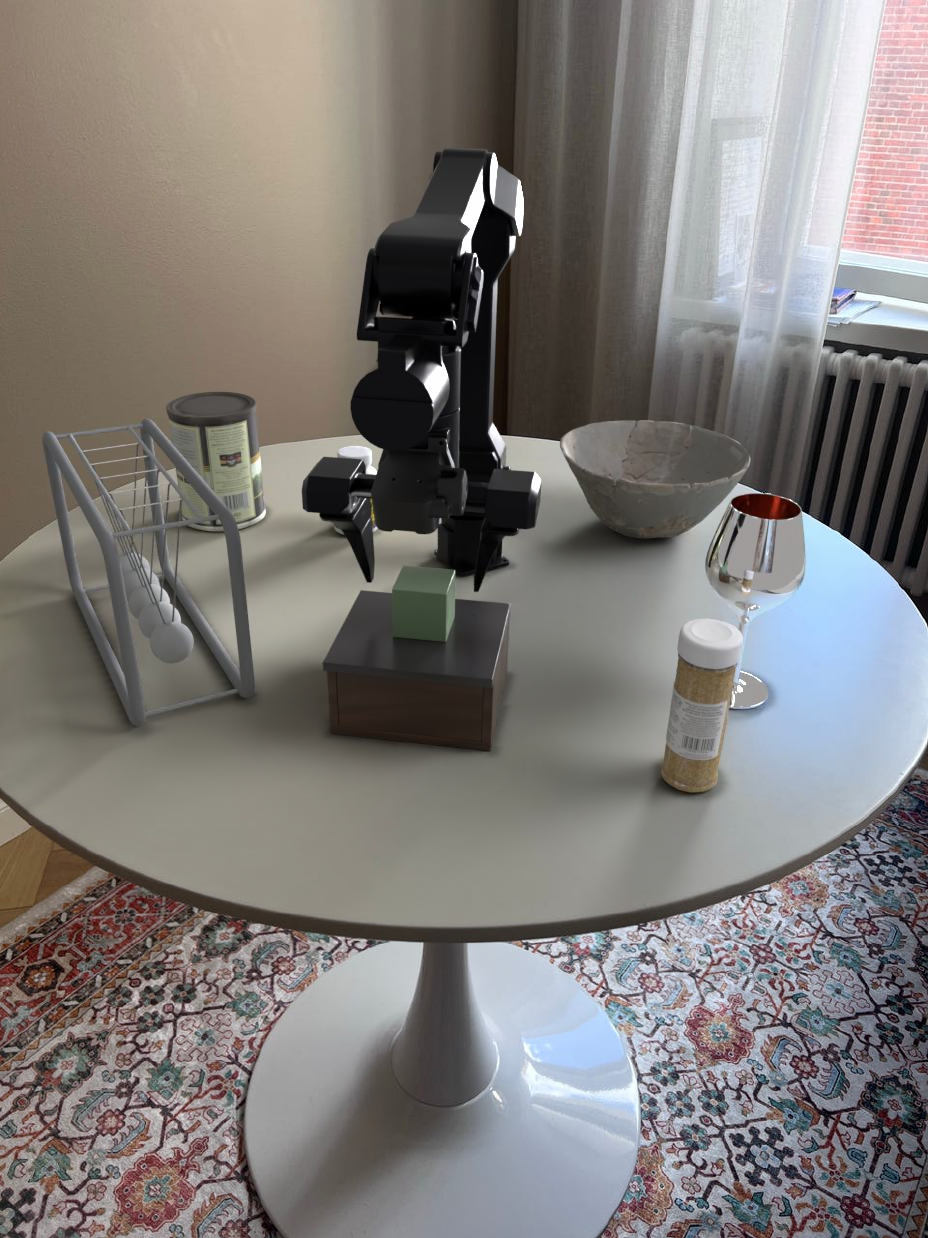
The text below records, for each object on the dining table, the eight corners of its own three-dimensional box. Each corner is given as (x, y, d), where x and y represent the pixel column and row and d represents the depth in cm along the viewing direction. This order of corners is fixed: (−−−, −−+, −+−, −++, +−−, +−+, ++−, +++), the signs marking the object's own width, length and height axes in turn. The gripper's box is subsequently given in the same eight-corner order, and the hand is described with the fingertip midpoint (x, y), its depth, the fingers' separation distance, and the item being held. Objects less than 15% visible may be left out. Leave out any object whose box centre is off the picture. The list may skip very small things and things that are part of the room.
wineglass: (675, 666, 93) (702, 488, 84) (759, 664, 94) (795, 487, 85) (701, 716, 86) (733, 527, 77) (791, 713, 87) (833, 525, 78)
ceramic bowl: (673, 482, 135) (682, 410, 130) (775, 551, 116) (791, 471, 111) (524, 501, 128) (528, 427, 123) (608, 578, 109) (616, 494, 104)
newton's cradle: (258, 706, 86) (240, 518, 77) (136, 738, 82) (102, 543, 73) (169, 568, 109) (147, 411, 100) (70, 588, 104) (38, 426, 96)
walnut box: (490, 751, 81) (493, 681, 78) (330, 733, 83) (326, 665, 79) (506, 676, 91) (510, 611, 88) (363, 661, 93) (360, 598, 89)
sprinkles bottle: (722, 769, 80) (749, 624, 73) (709, 802, 76) (737, 652, 69) (667, 753, 81) (688, 610, 75) (652, 785, 78) (673, 637, 71)
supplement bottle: (371, 540, 116) (369, 461, 112) (327, 535, 117) (323, 456, 113) (384, 522, 121) (382, 445, 116) (341, 517, 122) (338, 441, 117)
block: (403, 611, 86) (403, 564, 84) (454, 616, 85) (455, 569, 83) (392, 637, 82) (391, 589, 80) (446, 642, 81) (446, 594, 79)
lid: (492, 688, 77) (492, 679, 77) (323, 671, 79) (322, 662, 78) (510, 611, 88) (510, 603, 87) (360, 597, 89) (360, 589, 89)
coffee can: (223, 493, 128) (211, 385, 121) (283, 511, 123) (275, 400, 116) (162, 519, 120) (146, 406, 114) (224, 539, 116) (211, 423, 109)
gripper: (272, 432, 70) (288, 622, 78) (534, 450, 68) (523, 644, 76) (316, 387, 80) (326, 560, 88) (546, 401, 78) (536, 578, 85)
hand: (423, 585), depth 84 cm, fingers open, 9 cm apart
